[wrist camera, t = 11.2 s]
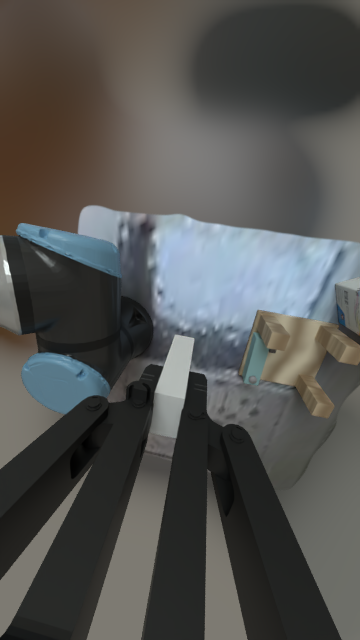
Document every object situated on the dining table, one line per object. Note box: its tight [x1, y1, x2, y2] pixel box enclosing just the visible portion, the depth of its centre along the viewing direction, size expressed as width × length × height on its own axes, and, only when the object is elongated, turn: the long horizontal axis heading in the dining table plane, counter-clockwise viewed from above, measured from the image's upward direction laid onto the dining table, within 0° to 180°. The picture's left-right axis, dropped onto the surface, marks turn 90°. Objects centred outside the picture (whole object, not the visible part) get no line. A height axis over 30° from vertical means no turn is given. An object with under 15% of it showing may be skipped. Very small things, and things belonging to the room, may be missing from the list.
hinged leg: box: [242, 332, 269, 386], centre depth 45 cm, size 11×3×4 cm, turn 173°
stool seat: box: [239, 310, 360, 418], centre depth 42 cm, size 16×16×10 cm
